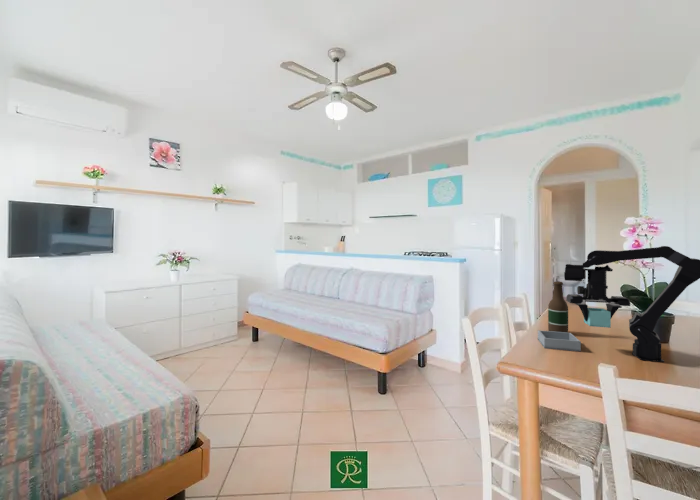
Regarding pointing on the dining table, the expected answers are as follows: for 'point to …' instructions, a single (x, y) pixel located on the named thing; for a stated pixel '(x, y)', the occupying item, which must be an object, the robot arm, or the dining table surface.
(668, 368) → the dining table surface
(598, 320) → the small crate
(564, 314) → the beer bottle
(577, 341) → the big crate
